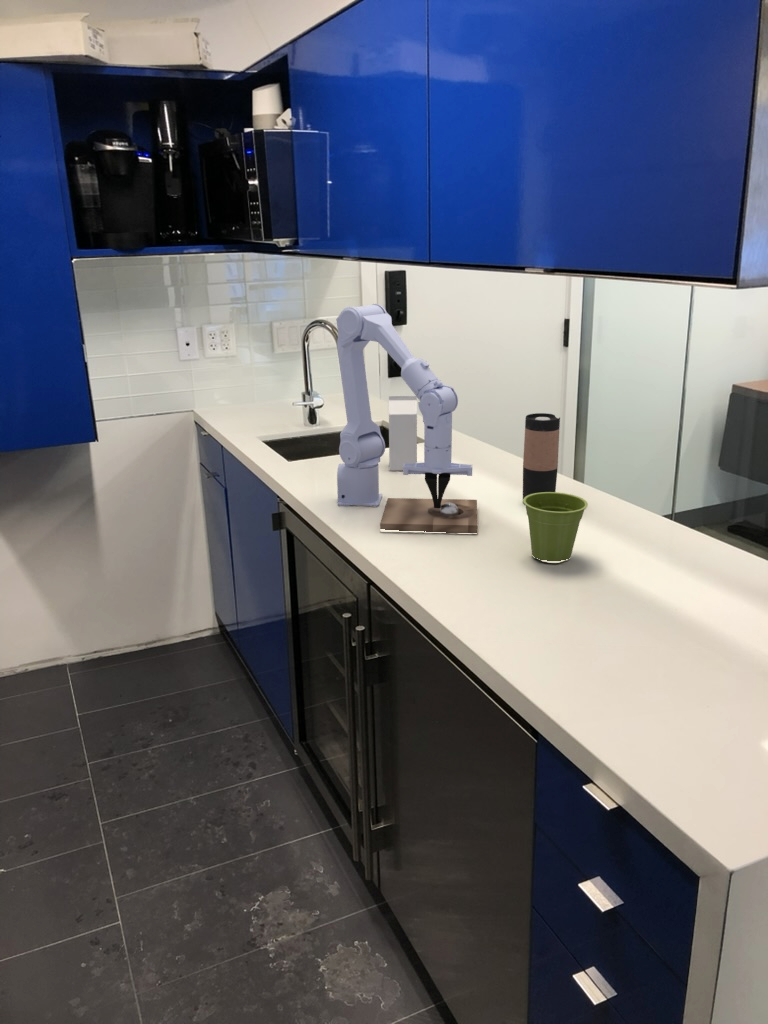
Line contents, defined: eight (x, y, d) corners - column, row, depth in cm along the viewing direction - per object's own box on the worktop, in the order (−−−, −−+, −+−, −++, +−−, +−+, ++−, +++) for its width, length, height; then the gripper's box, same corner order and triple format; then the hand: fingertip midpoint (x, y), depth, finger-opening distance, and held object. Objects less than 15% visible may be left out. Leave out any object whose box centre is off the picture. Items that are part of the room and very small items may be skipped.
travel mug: (516, 505, 187) (520, 418, 181) (527, 496, 194) (531, 411, 187) (549, 510, 184) (554, 421, 178) (559, 500, 190) (564, 414, 184)
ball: (452, 513, 174) (447, 527, 177) (464, 507, 177) (459, 520, 180) (438, 502, 176) (433, 516, 179) (450, 496, 179) (445, 509, 181)
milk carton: (416, 471, 215) (416, 398, 209) (389, 471, 215) (388, 398, 209) (416, 463, 222) (416, 393, 216) (389, 463, 222) (389, 393, 216)
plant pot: (533, 572, 151) (536, 513, 148) (511, 549, 162) (514, 494, 159) (594, 566, 153) (598, 509, 150) (568, 544, 164) (572, 489, 161)
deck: (380, 532, 172) (380, 523, 171) (387, 506, 188) (387, 498, 187) (477, 534, 170) (477, 525, 169) (476, 508, 186) (476, 499, 185)
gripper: (401, 449, 170) (402, 512, 175) (472, 450, 169) (471, 513, 173) (404, 441, 177) (404, 501, 181) (472, 441, 176) (471, 502, 180)
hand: (437, 506), depth 178 cm, fingers closed
